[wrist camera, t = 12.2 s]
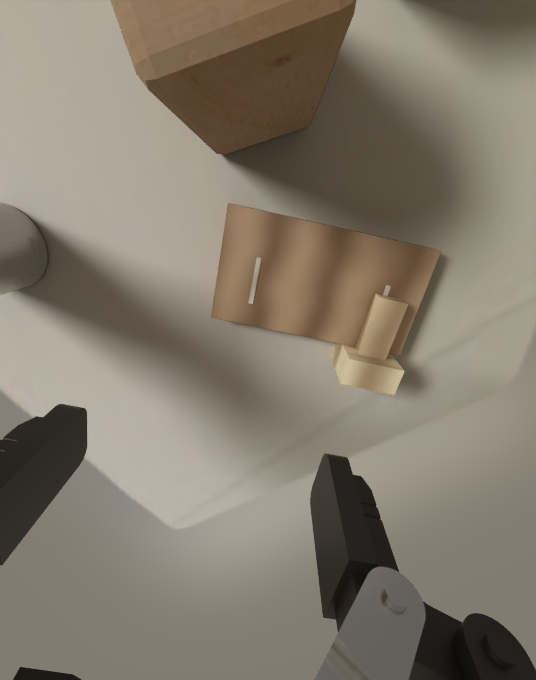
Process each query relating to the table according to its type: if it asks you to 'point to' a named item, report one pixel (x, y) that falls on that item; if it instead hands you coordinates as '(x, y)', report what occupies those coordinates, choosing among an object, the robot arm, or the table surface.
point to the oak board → (314, 276)
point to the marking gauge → (373, 349)
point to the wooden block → (236, 62)
